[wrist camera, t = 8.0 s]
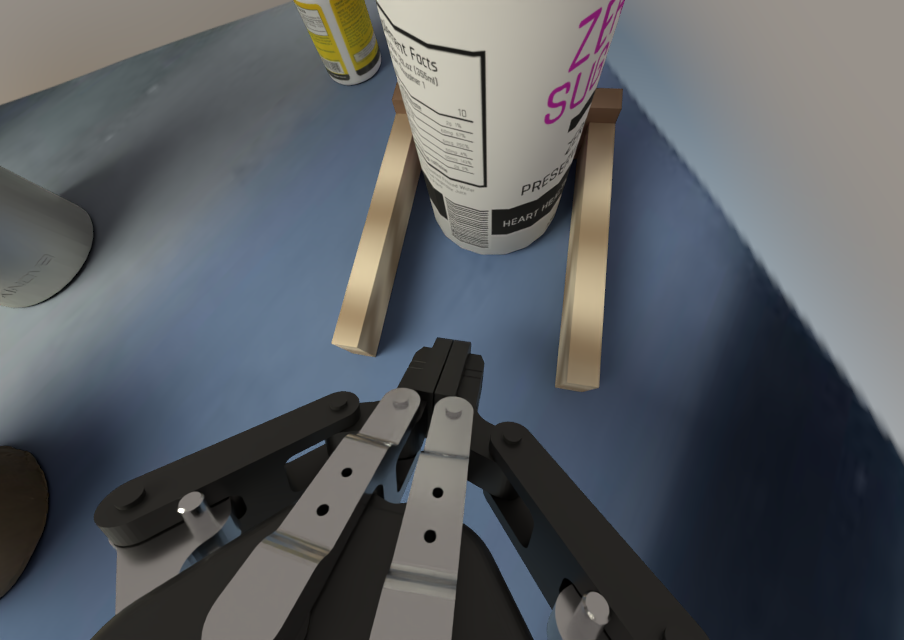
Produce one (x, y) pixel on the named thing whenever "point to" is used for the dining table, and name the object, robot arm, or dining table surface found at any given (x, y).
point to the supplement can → (497, 106)
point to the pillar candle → (19, 512)
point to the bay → (585, 249)
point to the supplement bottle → (342, 38)
